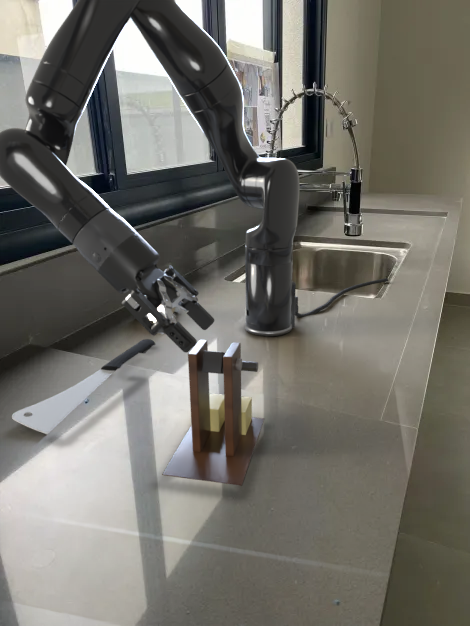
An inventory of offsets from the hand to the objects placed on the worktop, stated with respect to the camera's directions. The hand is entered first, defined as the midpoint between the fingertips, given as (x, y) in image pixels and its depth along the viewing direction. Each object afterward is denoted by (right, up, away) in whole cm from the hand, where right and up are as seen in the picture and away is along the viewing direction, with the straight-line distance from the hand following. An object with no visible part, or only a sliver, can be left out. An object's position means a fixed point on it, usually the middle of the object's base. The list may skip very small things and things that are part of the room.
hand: (201, 336), depth 68 cm
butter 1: (+2, -11, -4) cm, 12 cm away
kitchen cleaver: (-15, -8, +11) cm, 20 cm away
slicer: (+3, -14, -8) cm, 16 cm away
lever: (+3, -4, -7) cm, 9 cm away
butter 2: (+5, -11, -4) cm, 13 cm away
